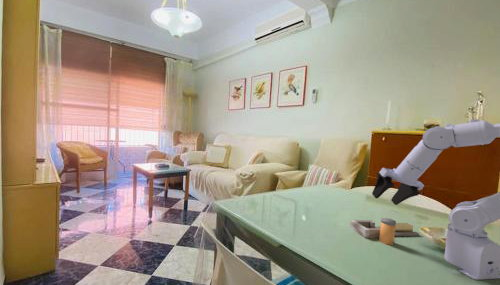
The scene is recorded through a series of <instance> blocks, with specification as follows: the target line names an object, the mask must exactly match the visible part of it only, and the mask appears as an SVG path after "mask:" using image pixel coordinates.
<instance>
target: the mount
mask: <svg viewBox="0 0 500 285" xmlns="http://www.w3.org/2000/svg"><path fill="white" fill-rule="evenodd" d="M349 228H350V230H352V231H353V232H355V233H357V234H358V235H360V236H361V237H363V238H364V239H379V238H380V228H381V226H376V222H375V221H373V220H371V219H369V220H368V219H360V220H359V219H351V220H350V221H349ZM397 237H399V238H406V239H407V238H419V237H420V238H423V235H420V233H419V232H418V231H413V232H395V236H394V239H397Z"/></svg>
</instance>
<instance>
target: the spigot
mask: <svg viewBox="0 0 500 285" xmlns="http://www.w3.org/2000/svg"><path fill="white" fill-rule="evenodd" d="M396 223H397V221H396V220H394V219H392V218H387V217H382V218H381V220H380V227H381V228H380V238H378V239H379V242H381V244H384V245H388V246H394V245H395V244H394V243H395V226H396Z"/></svg>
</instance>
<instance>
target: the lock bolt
mask: <svg viewBox="0 0 500 285" xmlns="http://www.w3.org/2000/svg"><path fill="white" fill-rule="evenodd" d="M395 232H414V225H413V224H410V223H408V222H396V226H395Z"/></svg>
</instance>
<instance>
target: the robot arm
mask: <svg viewBox="0 0 500 285" xmlns="http://www.w3.org/2000/svg"><path fill="white" fill-rule="evenodd" d="M496 138H500V123H495V124H493V123H491V122H489V121H486V120H479V119H477V118H474V119H470V120H469V122H465V123H459V124H453V125H452V124H451V123H447V124H445V127H444V126H438V125H436V126H434V127H430V128H428V129H427V130H426V131H424V132H423V134H422V139H421V140H420V141H419V142H418V143H417V145H415V146H414V147H413V149H411V151H410V152H409V153H408V154H407V156H406V157H405V158H404V159H403V160H402V161H401V162H400V164H399V165H398V166H397V167H396V168H394V167H393V169H391V168H386V167H382V168H381V169H380V170H379V171H378V172H377V176H376V183H375V185H374V188H373V190H372V192H371V194H372V196H373V197H374V198H375V199H379V198H380V197H382V195H383V194H384V193H385V192H386V191H388V190H389V189H391V188H393V187H394V186H395V184H394V183H393V182H392V180H394V181H395V182H399V183H400V185H399V187H398V189H397V191H396V192H395V193H394V194H393V196H392V198H391V199H390V201H391V203H393V204H394V205H395V206H396V205H399V204H401V203H402V202H404V201H405V200H408V199H411V198H413V197H416V196H419V195H420V194H421V193H420V191H421V190H422V189H423V188H424V187H425V185H424V184H423V182H421V181H419V180H418V179H419V178H420V177H422V175H423V174H424V173H425V172H426V170H427V169H428V168H430V166H431V165H432V164H433V163H434V162H435V161H436V160H437V158H438V156H439V155H440V154H441V153H442V152H443V151H444V150H446V149H447V150H448V149H449V148H450V147H451V146H452V147H454V148H460V147H461V148H462V147H470V146H471V147H472V146H481V145H488V144H489V145H490V144H491V143H492V142H493V141H494V140H495V139H496ZM448 220H449V223H447V229H446V230H447V231H446V239H445V248H444V256H443V257H444V259H445V260H446V261H447V262H448V263H450V264H452V265H453V266H455V267H458V268H455V270H456V271H458V272H460V273H462V274H464V275H465V276H467V277H469V278H470V279H473V280H475V281H476V280H477V281H479V280H492V279H493V280H494V279H500V244H499V243H498V242H495V241H494V240H492V239H490V238H489V237H488V232H487V231H486V230H485V228H486V226H488V225H490V224H493V223H495V222H497V221H498V220H500V191H498V192H497V193H494V194H491V195H488V196H485V197H482V198H480V199H477V200H473V201H470V200H469V201H467V200H466V201H462V202H459V203H457V204H456V205H455V207H454V208H453V209H451V210H450V212H449V214H448Z"/></svg>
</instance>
